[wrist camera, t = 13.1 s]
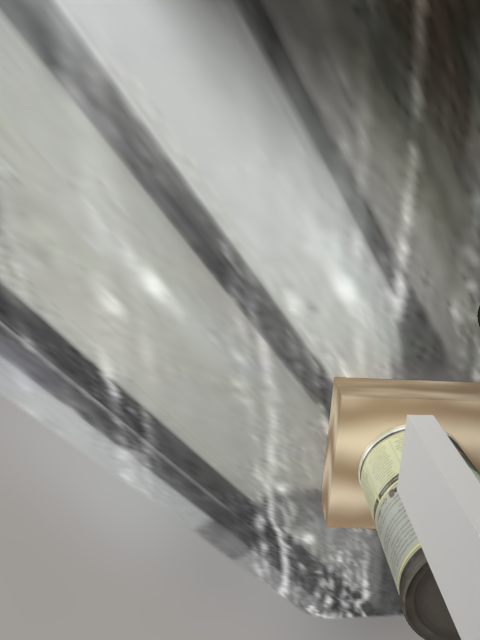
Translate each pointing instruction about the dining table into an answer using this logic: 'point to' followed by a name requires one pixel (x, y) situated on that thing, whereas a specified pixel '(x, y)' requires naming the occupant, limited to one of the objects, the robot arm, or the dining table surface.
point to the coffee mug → (479, 315)
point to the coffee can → (404, 536)
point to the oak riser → (379, 416)
